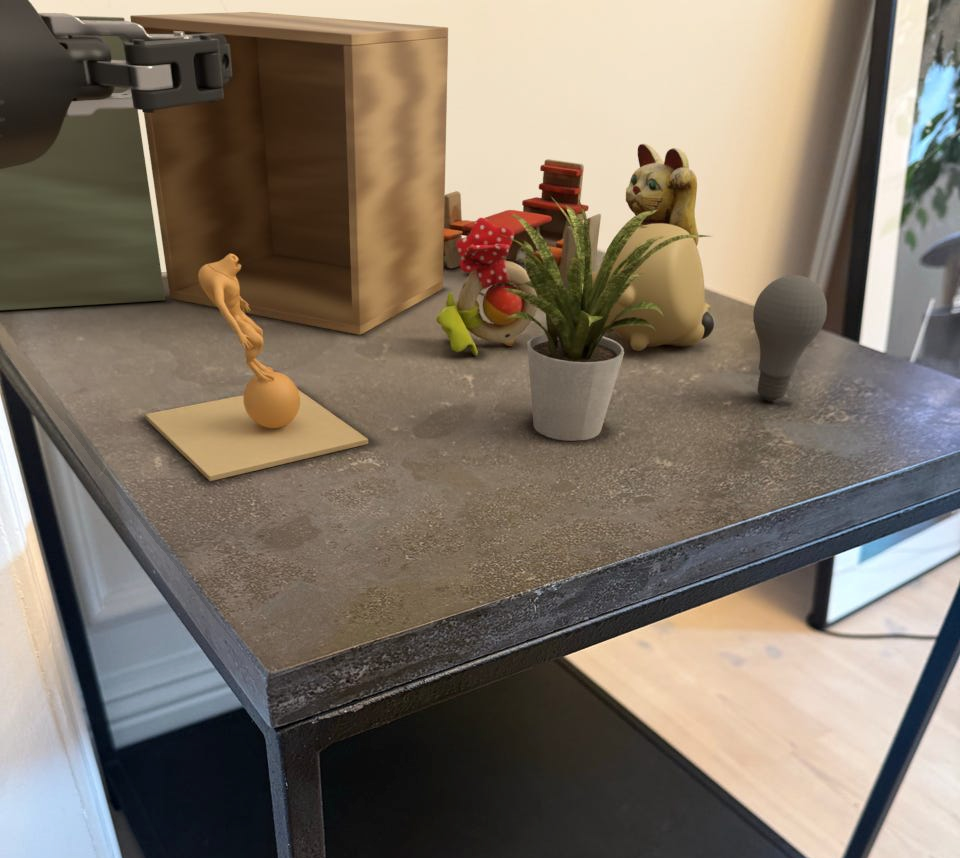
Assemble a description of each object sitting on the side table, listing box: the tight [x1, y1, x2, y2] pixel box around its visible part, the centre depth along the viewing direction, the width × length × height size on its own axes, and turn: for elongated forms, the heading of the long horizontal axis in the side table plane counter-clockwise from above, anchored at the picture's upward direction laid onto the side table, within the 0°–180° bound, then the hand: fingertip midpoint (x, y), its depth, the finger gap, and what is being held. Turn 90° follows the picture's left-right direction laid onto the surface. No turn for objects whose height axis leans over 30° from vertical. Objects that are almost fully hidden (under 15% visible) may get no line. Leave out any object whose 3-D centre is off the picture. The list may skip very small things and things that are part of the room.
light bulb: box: [752, 274, 828, 402], centre depth 76 cm, size 6×6×10 cm
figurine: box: [198, 254, 300, 428], centre depth 65 cm, size 8×6×12 cm
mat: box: [144, 389, 369, 482], centre depth 69 cm, size 12×12×1 cm
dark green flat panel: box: [0, 15, 166, 311], centre depth 85 cm, size 7×22×23 cm, turn 112°
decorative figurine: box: [625, 143, 699, 247], centre depth 97 cm, size 10×8×15 cm
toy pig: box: [592, 223, 715, 352], centre depth 87 cm, size 10×12×11 cm
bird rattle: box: [436, 217, 538, 357], centre depth 84 cm, size 6×11×9 cm
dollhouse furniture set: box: [443, 158, 602, 292], centre depth 109 cm, size 19×19×10 cm
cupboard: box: [129, 11, 449, 336], centre depth 91 cm, size 18×22×24 cm
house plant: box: [502, 198, 713, 442], centre depth 68 cm, size 14×14×16 cm
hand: (151, 51), depth 50 cm, fingers open, 8 cm apart
